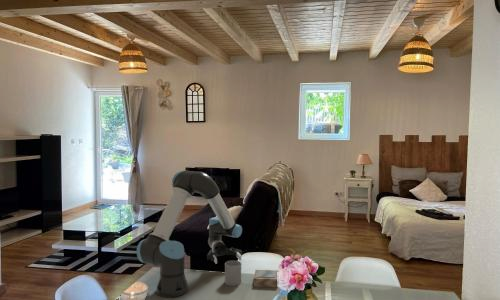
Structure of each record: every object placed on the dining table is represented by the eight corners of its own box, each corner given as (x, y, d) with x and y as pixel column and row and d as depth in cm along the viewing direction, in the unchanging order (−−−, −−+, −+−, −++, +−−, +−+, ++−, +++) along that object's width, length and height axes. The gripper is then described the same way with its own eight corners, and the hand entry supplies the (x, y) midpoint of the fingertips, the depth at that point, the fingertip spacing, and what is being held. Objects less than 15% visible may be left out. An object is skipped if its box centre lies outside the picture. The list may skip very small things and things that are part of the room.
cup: (242, 279, 195) (242, 260, 194) (240, 285, 186) (240, 266, 186) (226, 278, 195) (226, 260, 195) (223, 285, 187) (223, 265, 187)
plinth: (253, 286, 186) (253, 277, 186) (255, 277, 198) (255, 269, 198) (277, 287, 185) (277, 278, 184) (278, 277, 197) (278, 269, 196)
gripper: (239, 251, 224) (250, 263, 204) (198, 256, 216) (205, 269, 196) (239, 239, 224) (250, 250, 204) (198, 243, 216) (205, 255, 196)
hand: (228, 259), depth 200 cm, fingers open, 13 cm apart
